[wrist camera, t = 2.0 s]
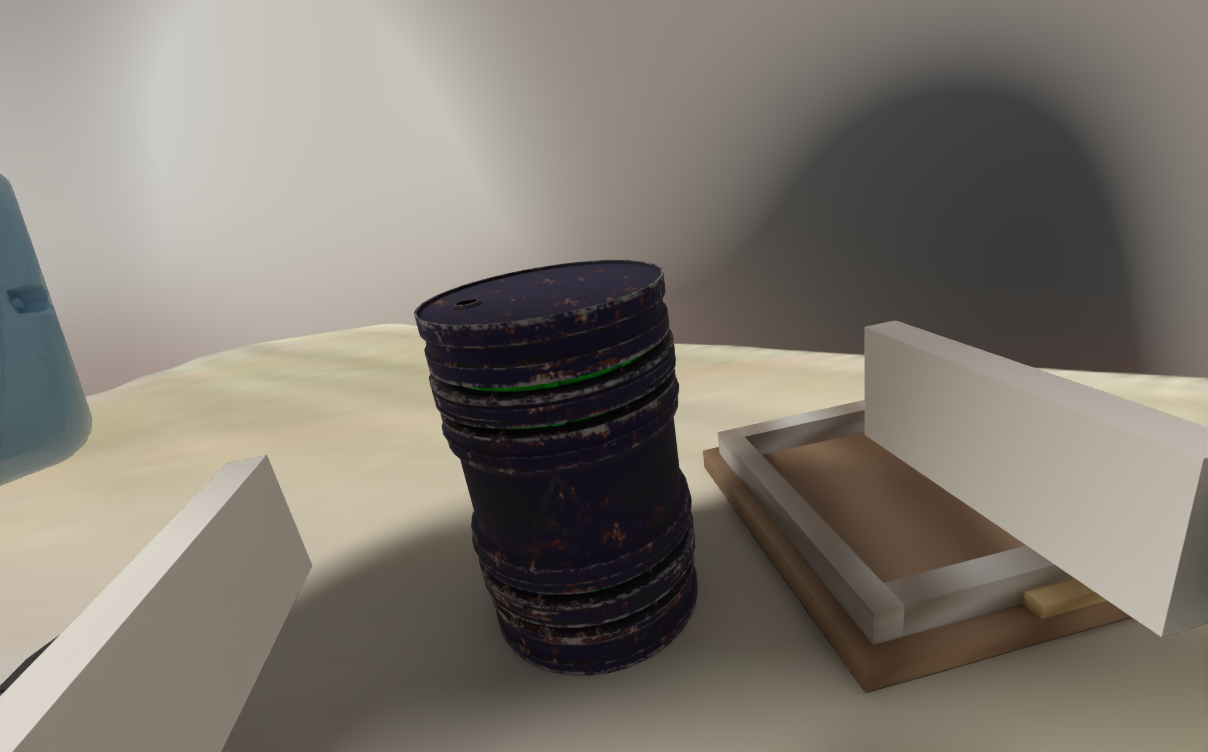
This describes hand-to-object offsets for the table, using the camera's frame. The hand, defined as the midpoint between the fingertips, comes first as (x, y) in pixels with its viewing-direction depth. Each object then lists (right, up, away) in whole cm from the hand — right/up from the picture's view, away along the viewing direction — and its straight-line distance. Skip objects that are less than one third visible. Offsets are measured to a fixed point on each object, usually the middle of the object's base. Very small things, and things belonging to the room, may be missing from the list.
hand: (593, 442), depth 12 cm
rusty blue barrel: (0, -9, +15) cm, 17 cm away
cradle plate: (+16, -6, +17) cm, 24 cm away
